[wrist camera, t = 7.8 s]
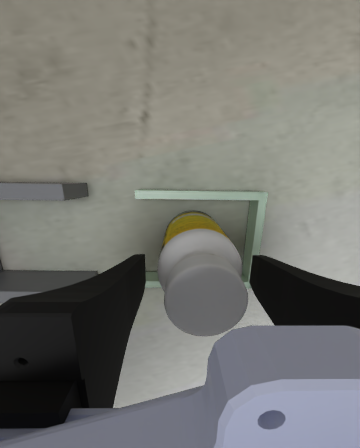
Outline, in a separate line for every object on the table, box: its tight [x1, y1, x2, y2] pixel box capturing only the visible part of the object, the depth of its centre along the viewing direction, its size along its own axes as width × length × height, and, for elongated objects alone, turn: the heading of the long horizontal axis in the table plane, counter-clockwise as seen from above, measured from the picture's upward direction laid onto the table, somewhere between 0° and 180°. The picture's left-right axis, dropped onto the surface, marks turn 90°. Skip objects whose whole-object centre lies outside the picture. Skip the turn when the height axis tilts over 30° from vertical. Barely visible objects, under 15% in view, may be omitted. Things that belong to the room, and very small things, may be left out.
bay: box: [0, 182, 97, 303], centre depth 16 cm, size 10×11×4 cm
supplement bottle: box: [158, 211, 248, 336], centre depth 13 cm, size 5×5×10 cm
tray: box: [135, 189, 268, 288], centre depth 17 cm, size 9×11×2 cm
